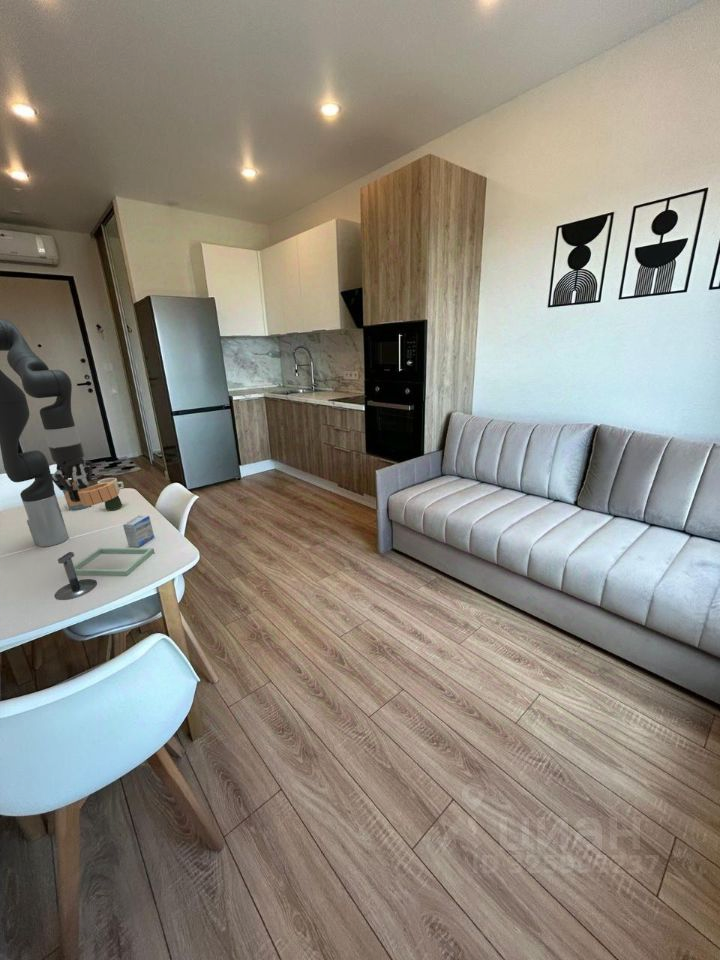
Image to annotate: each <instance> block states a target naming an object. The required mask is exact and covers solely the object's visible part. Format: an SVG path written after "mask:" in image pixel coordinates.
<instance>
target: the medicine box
mask: <svg viewBox="0 0 720 960" xmlns="http://www.w3.org/2000/svg"><path fill="white" fill-rule="evenodd" d="M122 527H123V530H124V535H125V538H126V542H127V546H128V547H130V546H132V547H131V548H141V547H142V546H143V545H144V543H145V544H147V541H148V542H149V541H151V540H152V539H154V538H153V537H155V534H154V530H153V526H152V521H151V518H150V515H143V514H142V515H140V514H139V515H138V516H136V517H135V518H133V519H131V520H129V521H127V522H126V523H123V524H122ZM150 539H151V540H150ZM142 544H143V545H142ZM141 545H142V546H141Z"/></svg>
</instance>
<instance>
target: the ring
mask: <svg viewBox="0 0 720 960" xmlns="http://www.w3.org/2000/svg"><path fill="white" fill-rule="evenodd" d="M77 490H78V495H79V498H80V501H79V502H72V501H71V500H70V496H69V493H68V492H67V493H65V494H64V493H63V494H64V495H65V496H64V498H65V497H66V499H65V500H67V501H66V503H67V502H68V504H69V506H74V505H80V504H83V506H90V505H92V506H95V505H98V504H102V503H105V501H108V500H111V499H113V498H115V497H116V496H119V493H118V492H117V489H116V487H115V484H114V482H105V483H100V484H98V483H96V484H94V485H91V486H90V485H89V487H87V488H82V489H77ZM68 504H67V505H68ZM90 507H91V506H90Z"/></svg>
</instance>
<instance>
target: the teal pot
mask: <svg viewBox="0 0 720 960" xmlns="http://www.w3.org/2000/svg"><path fill="white" fill-rule="evenodd" d="M89 482H90V481H89ZM89 482H88V484H87V487H90V483H89ZM70 486H71V483H70ZM78 486H79V485H78V484H77V482H76V489H79V488H78ZM61 491H62V493H63V494H65V493H67V492H68V491H67V490H61ZM64 498H65V500H66V497H65V495H64ZM66 503H67V507H68V510H70V511H72V512H73V511H81V510H85V509H88V508H89V507H92V506H93V505H90V506H83V504H80V505H74V506H69V504H68V502H67V500H66Z"/></svg>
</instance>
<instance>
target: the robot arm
mask: <svg viewBox="0 0 720 960" xmlns="http://www.w3.org/2000/svg"><path fill="white" fill-rule="evenodd" d="M1 351H3V352H4V351H5V352H6V351H7V354H6V361H7V363H8V365H9V367H10V368H11V369H12V370H13V371H14V372H15V373H16V374H17V375H18V376H19V378H20V380H21V385H22V388H23V389H22V388H21V387H20V386H18V384H17V383H15V382H14V381H13V380H12V379H11V378H10V377H9V376H7V375H6V374H5V373H4V372H3V371H2V370H1V369H0V451H1V452H0V453H1V454H0V455H1V459H2V464H3V468H4V471H5V474H6V475H7V477H8V479H9V480H10V481H11V482H13V483H22V482H28V481H30V480H34V481H33V482H32V483H31V484H30V485H29V486H28V487H26V488H24V489H23V490H21V492H20V498H21V501H22V504H23V507H24V510H25V512H26V516H27V518H28V519H27V520H26V523H27V526H28V529H29V532H30V536H31V538H32V540H33V544H34V545H36V546H38V547H39V548H41V547H42V548H44V547H51V546H55V545H58V544H61V543H63V542H66V541H67V540H68V539H69V533H68V530H67V528H66V527H67V526H66V524H65V521H64V517H63V514H62V511H61V508H60V504H59V502H58V498H57V495H56V492H55V491H56V490H55V485H56V487H57V488H58V489H59V490H60V491H62V490H67V491H68V493H69V496H70V500H71V501H72V502H79V501H80V498H79V495H78V490H77V489H76V482H77V484H78V485H79V486H78V488H79V489H82V488H87V484H88V482H91V481H92V480H93V461H85V460H84V457H85V453H84V449H83V444H82V441H81V439H80V435H79V432H78V430H77V428H76V423H75V421H74V417H73V412H72V389H73V384H72V380H71V378H70V376H69V375H68V373H67V372H65V371H63V370H61V369H49V366H48V365H47V364H46V363H45V362H44V361H43V360H42V359H41V358H40V357H39V356H38V355H36V353H35V352H34V351H33V350H32V349H31V347H30V345H29V344H28V342H27V341H26V339H25V337H23V335H22V332H20V330H19V329H18V328H17V326H16V325H15V324H14V323H13V322H12V321H10V320H9V319H7V318H6V319H5V318H0V352H1ZM25 393H26V394H27V396H30V397H32V398H35V399H44V398H45V399H46V398H54V397H56V399H55V401H54V403H52V404H49V405H47V406H44V407H42V408H40V409H39V416H40V418H41V422H42V426H43V429H44V433H45V434H44V435H45V440H46V442H47V446H48V450H49V453H50V456H51V460H52V461H53V462H54V463H55V464H56V469H55V472H54V473H51V470H50V465H49V462H48V459H47V456H45V454H44V453H43V452H42V451H40V450H31V451H25V452H21V453H19V442H20V438H21V436H22V433H23V432H24V429H25V428H26V426H27V424H28V421H29V418H30V409H29V404H28V399H27V397H26V394H25ZM70 483H71V486H70Z"/></svg>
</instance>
